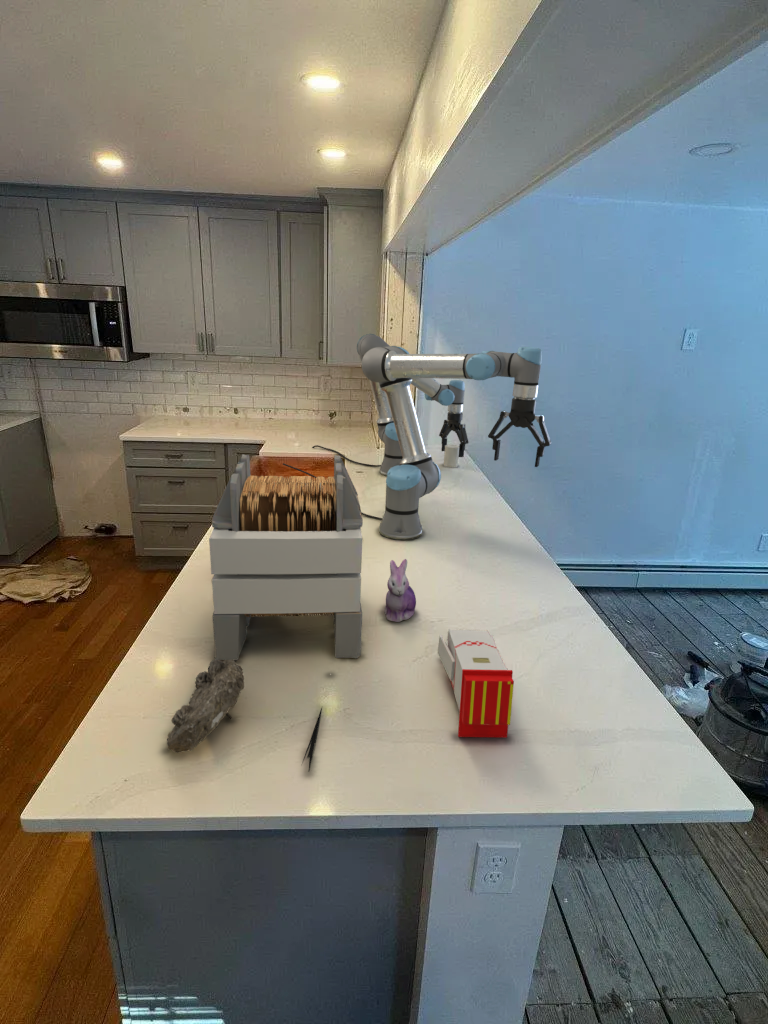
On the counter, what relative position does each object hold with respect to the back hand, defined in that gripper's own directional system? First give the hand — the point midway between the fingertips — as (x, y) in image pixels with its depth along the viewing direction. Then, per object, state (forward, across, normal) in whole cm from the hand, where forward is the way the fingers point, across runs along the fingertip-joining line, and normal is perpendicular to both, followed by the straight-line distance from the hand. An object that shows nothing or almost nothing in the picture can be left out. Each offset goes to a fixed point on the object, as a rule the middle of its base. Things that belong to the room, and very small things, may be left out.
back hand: (452, 453), depth 289 cm
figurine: (+5, -110, +109) cm, 155 cm away
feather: (+5, -136, +145) cm, 199 cm away
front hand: (-22, -88, +48) cm, 103 cm away
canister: (+6, 0, 0) cm, 6 cm away
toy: (+5, -144, +114) cm, 184 cm away
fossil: (+4, -125, +162) cm, 205 cm away
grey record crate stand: (+5, -100, +135) cm, 168 cm away
